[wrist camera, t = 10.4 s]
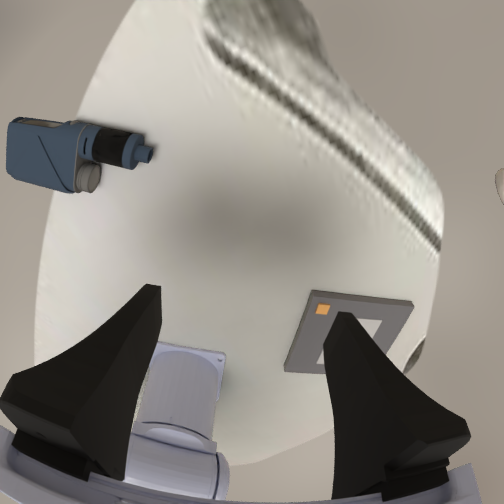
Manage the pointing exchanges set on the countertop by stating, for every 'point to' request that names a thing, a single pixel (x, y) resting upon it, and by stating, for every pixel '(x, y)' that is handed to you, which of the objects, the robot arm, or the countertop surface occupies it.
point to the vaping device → (68, 153)
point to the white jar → (500, 184)
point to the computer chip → (323, 315)
